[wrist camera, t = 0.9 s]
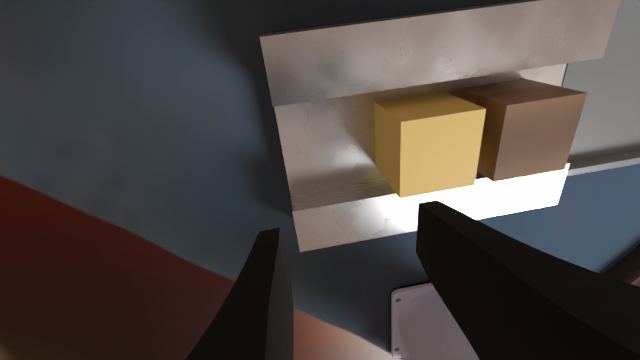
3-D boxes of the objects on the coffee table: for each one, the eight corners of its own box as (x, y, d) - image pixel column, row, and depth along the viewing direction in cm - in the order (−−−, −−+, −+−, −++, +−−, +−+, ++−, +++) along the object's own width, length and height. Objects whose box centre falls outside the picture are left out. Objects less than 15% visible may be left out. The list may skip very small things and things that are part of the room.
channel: (517, 179, 23) (557, 204, 20) (295, 218, 22) (299, 252, 19) (559, -5, 17) (623, -11, 14) (261, 33, 16) (259, 37, 13)
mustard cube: (437, 155, 19) (474, 185, 16) (375, 165, 19) (399, 198, 15) (442, 90, 17) (486, 108, 14) (373, 101, 17) (400, 122, 13)
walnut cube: (511, 142, 20) (564, 169, 16) (452, 152, 19) (492, 182, 16) (524, 78, 18) (587, 92, 14) (458, 88, 17) (507, 105, 14)
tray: (666, 147, 24) (688, 154, 22) (522, 172, 23) (537, 181, 22) (744, -20, 18) (778, -23, 17) (562, 4, 18) (584, 3, 16)
